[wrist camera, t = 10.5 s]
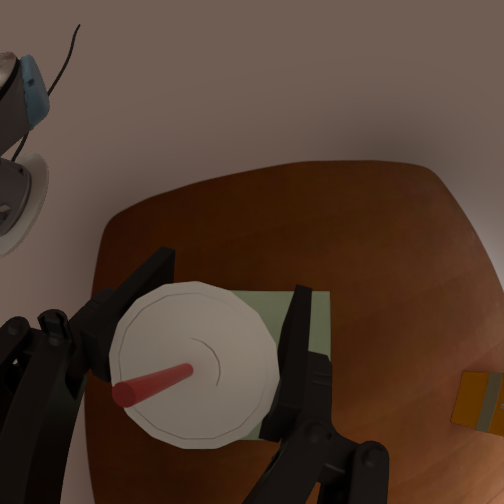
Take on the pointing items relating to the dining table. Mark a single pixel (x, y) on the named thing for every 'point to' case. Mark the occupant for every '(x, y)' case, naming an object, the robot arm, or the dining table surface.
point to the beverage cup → (193, 365)
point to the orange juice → (481, 402)
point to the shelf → (273, 314)
